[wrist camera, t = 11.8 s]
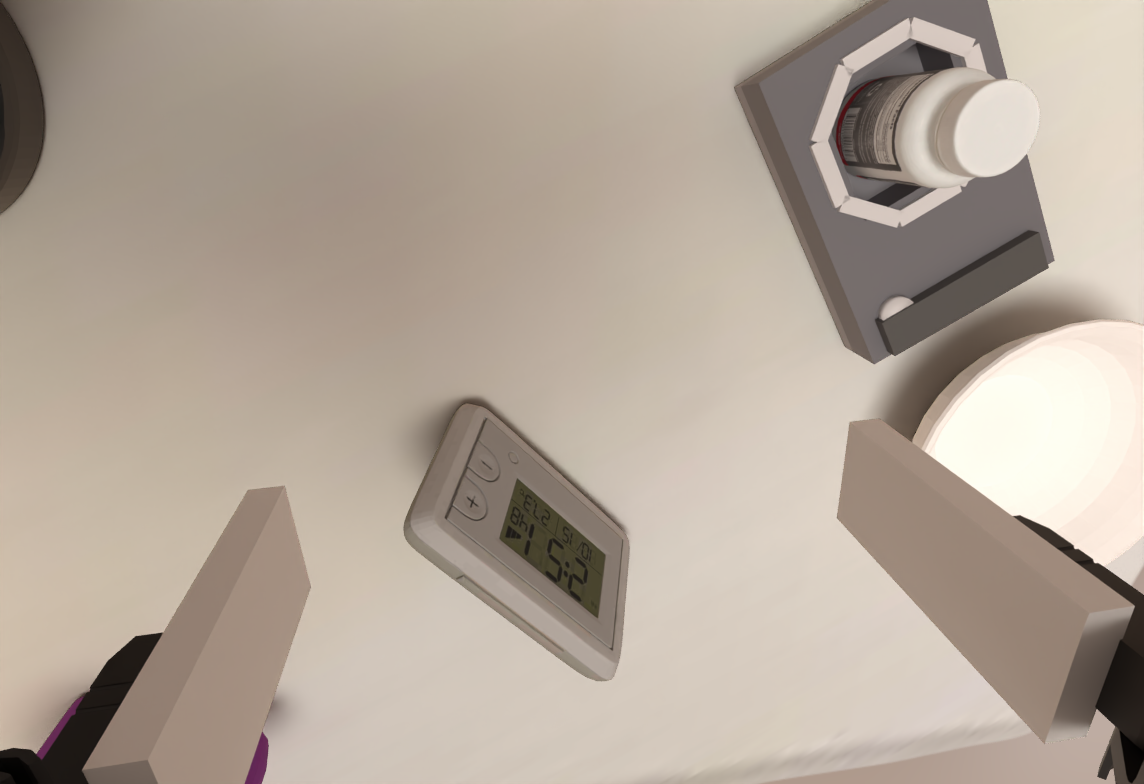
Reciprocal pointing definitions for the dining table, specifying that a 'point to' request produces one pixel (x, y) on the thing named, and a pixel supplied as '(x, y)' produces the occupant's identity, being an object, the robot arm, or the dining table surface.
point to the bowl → (1053, 432)
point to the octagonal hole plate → (885, 209)
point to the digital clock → (523, 541)
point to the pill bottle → (936, 127)
